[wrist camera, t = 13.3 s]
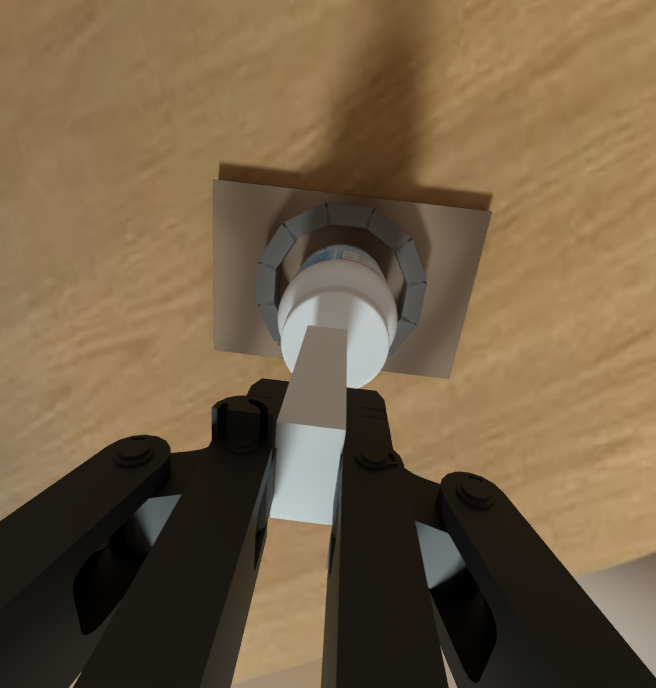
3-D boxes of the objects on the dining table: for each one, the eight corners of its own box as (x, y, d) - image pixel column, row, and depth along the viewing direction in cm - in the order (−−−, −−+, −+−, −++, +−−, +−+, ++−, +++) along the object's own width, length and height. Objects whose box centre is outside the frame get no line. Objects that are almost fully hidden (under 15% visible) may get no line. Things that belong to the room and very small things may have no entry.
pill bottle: (305, 332, 27) (277, 415, 17) (291, 248, 25) (247, 284, 15) (388, 323, 27) (411, 402, 16) (380, 236, 25) (401, 263, 14)
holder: (218, 345, 29) (204, 360, 27) (217, 179, 25) (201, 177, 22) (446, 373, 29) (456, 391, 26) (486, 211, 25) (503, 212, 22)
